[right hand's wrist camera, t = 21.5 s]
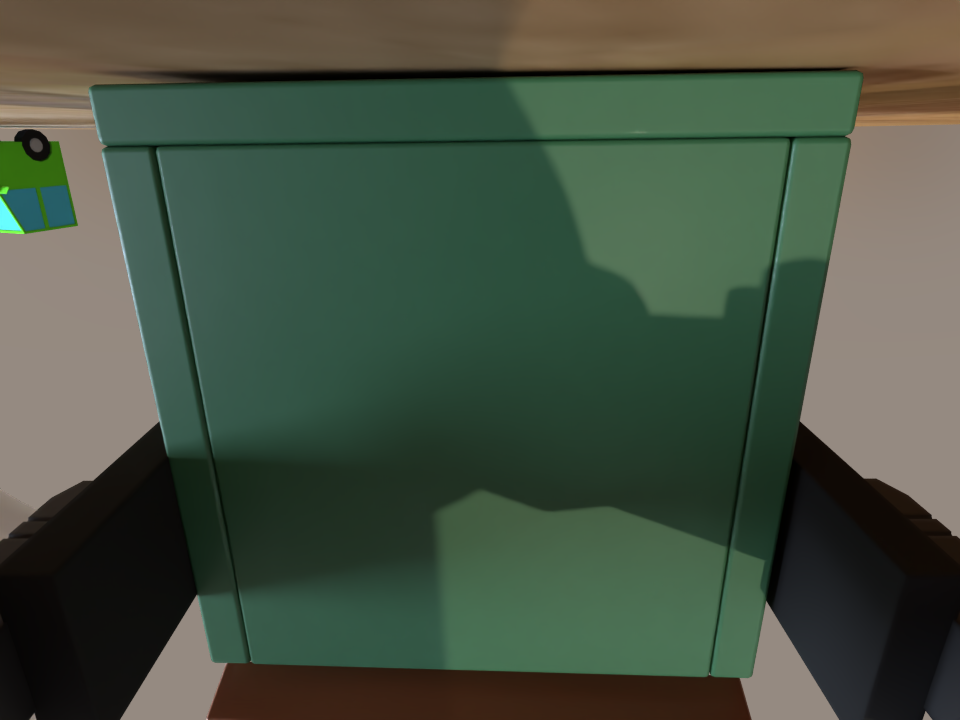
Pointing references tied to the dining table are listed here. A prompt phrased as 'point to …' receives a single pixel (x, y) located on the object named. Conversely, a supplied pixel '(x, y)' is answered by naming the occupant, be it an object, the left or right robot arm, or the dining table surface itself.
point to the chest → (481, 356)
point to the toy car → (33, 185)
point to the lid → (467, 695)
